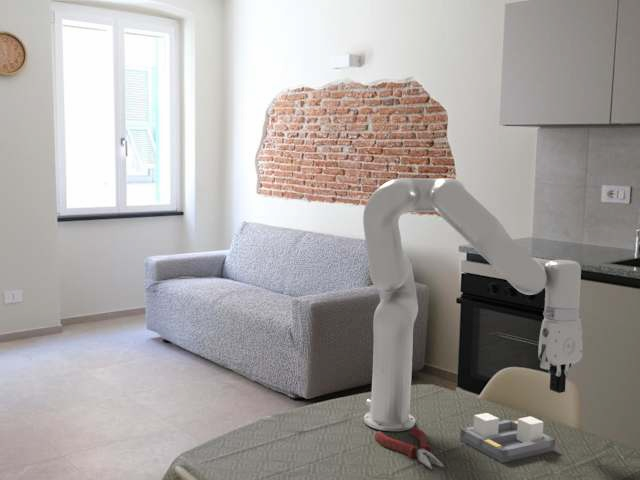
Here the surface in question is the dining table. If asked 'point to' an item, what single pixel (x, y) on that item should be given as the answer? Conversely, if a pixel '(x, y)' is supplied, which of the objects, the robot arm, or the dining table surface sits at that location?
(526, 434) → the tab
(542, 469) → the dining table surface
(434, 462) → the pliers
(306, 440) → the dining table surface
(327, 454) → the dining table surface
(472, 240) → the robot arm
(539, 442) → the switch bank
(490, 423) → the tab
